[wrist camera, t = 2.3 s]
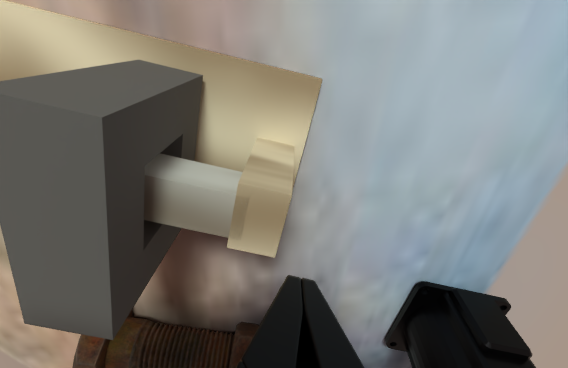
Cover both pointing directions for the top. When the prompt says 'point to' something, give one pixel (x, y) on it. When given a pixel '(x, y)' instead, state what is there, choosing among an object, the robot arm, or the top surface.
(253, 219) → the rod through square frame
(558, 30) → the top surface
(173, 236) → the grey square collar
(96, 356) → the bolt
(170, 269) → the top surface
